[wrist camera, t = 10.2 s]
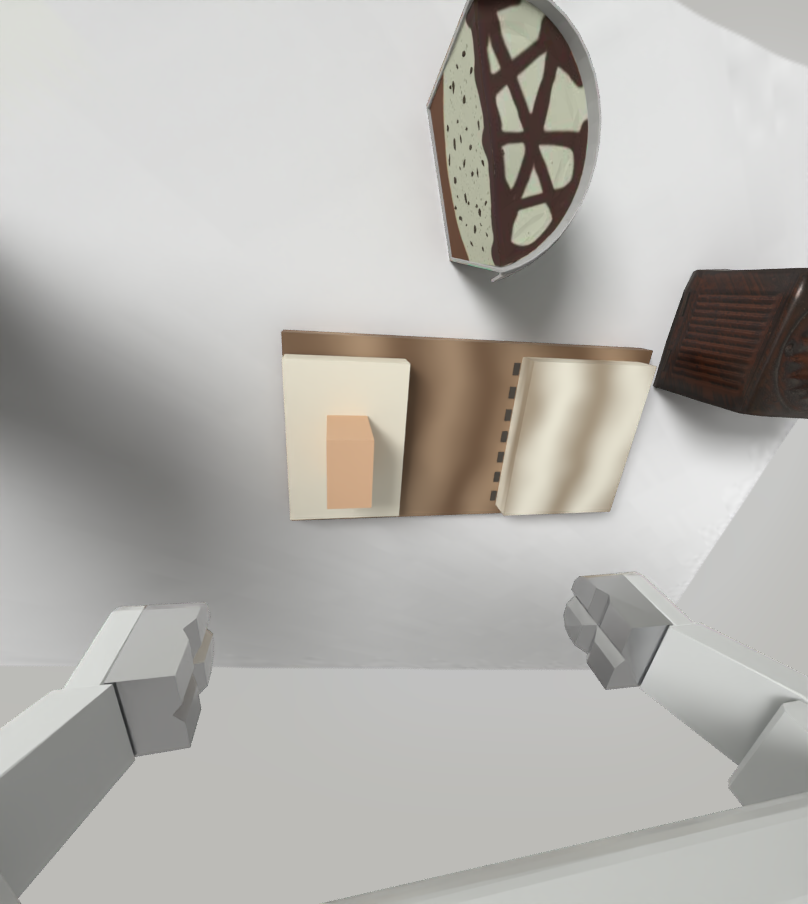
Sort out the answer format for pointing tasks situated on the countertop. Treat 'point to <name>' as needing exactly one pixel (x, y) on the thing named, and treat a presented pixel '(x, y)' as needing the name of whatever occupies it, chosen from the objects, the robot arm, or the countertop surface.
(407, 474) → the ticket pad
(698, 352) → the manual coffee grinder
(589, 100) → the food container
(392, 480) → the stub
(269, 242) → the countertop surface
